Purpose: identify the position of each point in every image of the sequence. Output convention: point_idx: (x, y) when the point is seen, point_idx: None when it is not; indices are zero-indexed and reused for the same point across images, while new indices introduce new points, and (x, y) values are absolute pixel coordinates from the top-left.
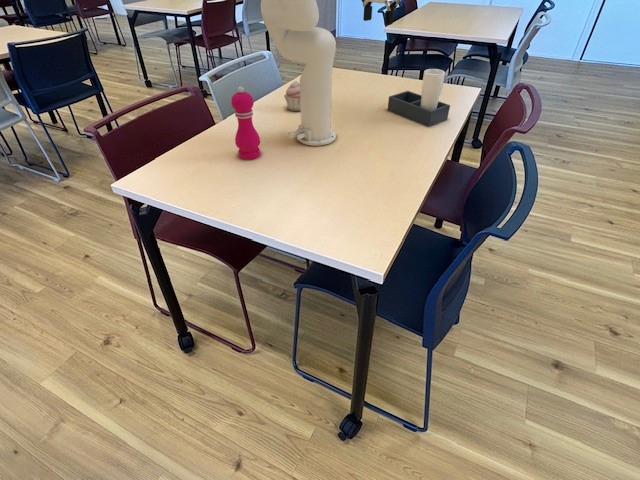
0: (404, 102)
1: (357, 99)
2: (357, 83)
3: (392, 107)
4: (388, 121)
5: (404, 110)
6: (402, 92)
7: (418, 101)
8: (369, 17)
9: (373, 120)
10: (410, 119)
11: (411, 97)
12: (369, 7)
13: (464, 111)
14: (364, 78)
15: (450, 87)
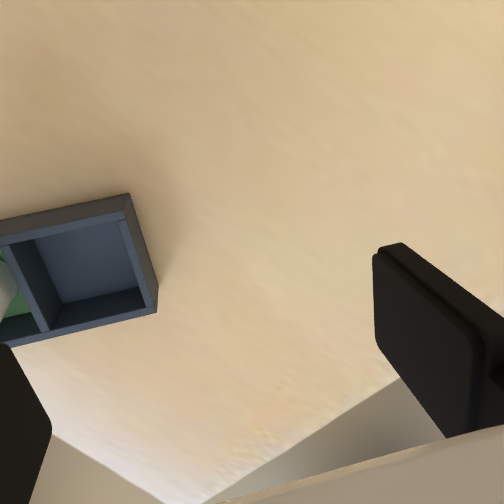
0: (27, 230)
1: (291, 150)
2: (431, 242)
3: (100, 203)
4: (12, 129)
5: (31, 220)
6: (145, 284)
7: (18, 286)
8: (385, 329)
9: (44, 75)
10: (3, 219)
11: (125, 303)
12: (461, 408)
13: None
14: None
15: (227, 466)
